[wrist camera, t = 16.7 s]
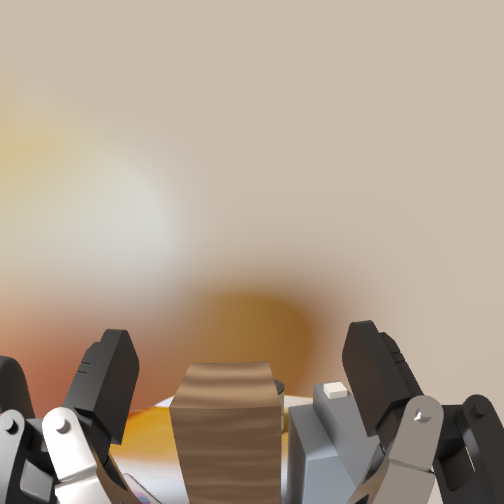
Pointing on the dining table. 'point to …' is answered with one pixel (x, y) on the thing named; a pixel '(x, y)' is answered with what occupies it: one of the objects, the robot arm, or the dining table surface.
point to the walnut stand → (228, 433)
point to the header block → (314, 462)
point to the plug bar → (344, 427)
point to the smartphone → (139, 491)
